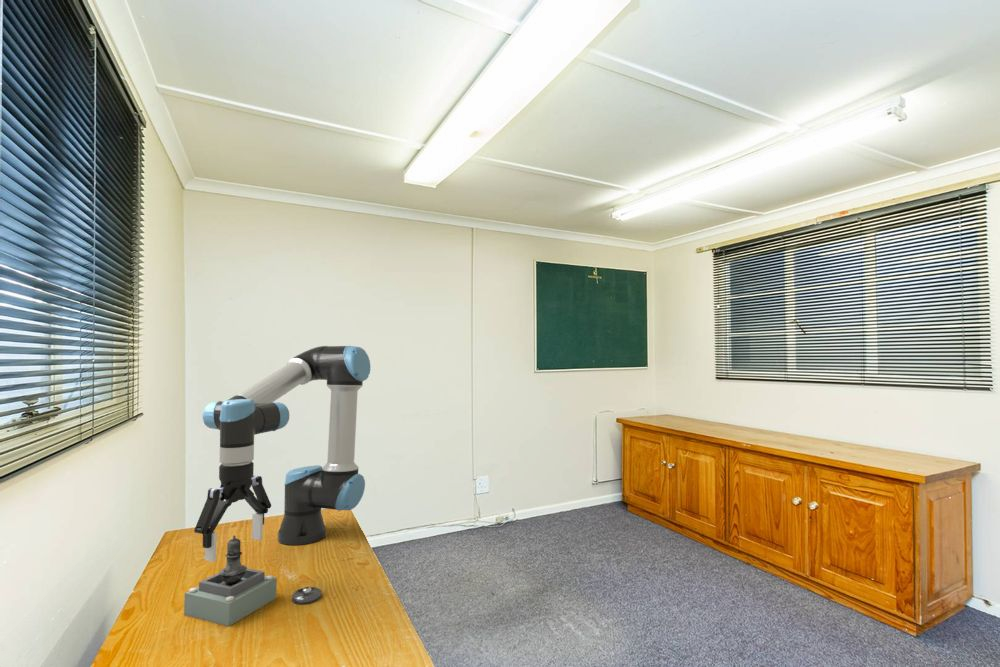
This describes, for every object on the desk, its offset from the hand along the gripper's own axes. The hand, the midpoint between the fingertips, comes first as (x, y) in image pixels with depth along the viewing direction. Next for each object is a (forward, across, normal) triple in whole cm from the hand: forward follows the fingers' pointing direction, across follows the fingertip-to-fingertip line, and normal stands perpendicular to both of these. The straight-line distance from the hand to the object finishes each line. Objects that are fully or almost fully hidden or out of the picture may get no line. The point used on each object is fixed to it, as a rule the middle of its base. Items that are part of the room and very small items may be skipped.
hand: (234, 549), depth 121 cm
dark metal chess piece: (+9, 0, 0) cm, 9 cm away
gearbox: (+13, +1, -1) cm, 13 cm away
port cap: (+14, -9, +14) cm, 22 cm away
